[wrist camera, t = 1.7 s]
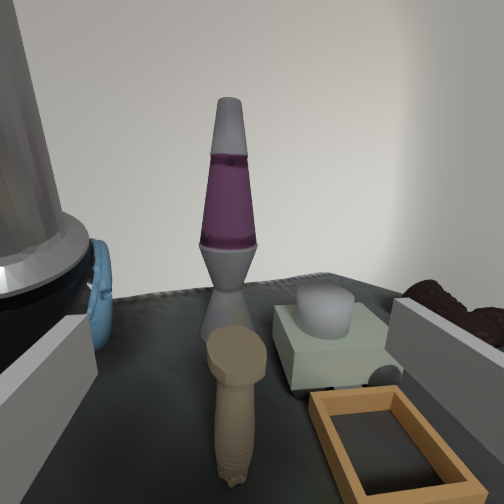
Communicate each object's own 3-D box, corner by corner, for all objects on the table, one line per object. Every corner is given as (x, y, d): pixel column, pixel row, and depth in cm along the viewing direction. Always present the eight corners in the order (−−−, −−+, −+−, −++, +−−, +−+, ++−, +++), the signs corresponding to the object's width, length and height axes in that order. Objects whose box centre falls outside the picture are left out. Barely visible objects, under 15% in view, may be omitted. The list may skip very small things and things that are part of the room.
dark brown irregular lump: (541, 317, 43) (455, 272, 56) (483, 335, 39) (404, 283, 52) (513, 355, 48) (439, 306, 61) (458, 376, 44) (390, 319, 56)
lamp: (256, 318, 54) (265, 110, 42) (253, 351, 43) (265, 88, 32) (206, 315, 54) (203, 108, 43) (192, 347, 44) (182, 86, 33)
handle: (217, 519, 22) (216, 381, 18) (204, 447, 28) (201, 330, 23) (267, 497, 24) (278, 365, 19) (245, 434, 29) (249, 322, 25)
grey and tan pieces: (334, 539, 21) (358, 421, 17) (271, 345, 45) (276, 278, 41) (497, 512, 23) (549, 401, 19) (354, 340, 47) (365, 276, 44)
